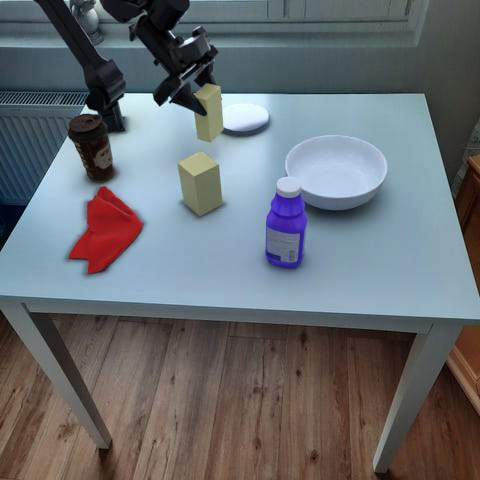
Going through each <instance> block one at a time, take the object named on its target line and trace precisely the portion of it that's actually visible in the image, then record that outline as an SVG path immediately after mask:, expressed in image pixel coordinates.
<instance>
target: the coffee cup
mask: <svg viewBox="0 0 480 480" xmlns="http://www.w3.org/2000/svg"><path fill="white" fill-rule="evenodd" d="M67 129H68V130H67V137H68V139H69V140H70V141H71V142H72V143H73V145H74V148H75V150H76V151H77V153H78V155H79V158H80V160H81V163H82V165H83V168H84V169H85V172H86V177H87V178H88V179H89V180H90V181H91V182H93V183H104V182H107V181H109V180H111V179H112V178H113V177H114V176H115V174H116V170H115V168H114V164H113V163H114V158H113V153H112V147H111V141H110V137H109V135H108V134H109V133H107V130H108V129H107V125H106V124H105V123H104V122H103V121H102V117H101V116H99V115H98V113H89V112H87V113H81V114H79V115H76V116H74V117H73V118H71V119H70V120H69V123H68V128H67Z"/></svg>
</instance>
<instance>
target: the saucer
mask: <svg viewBox="0 0 480 480" xmlns="http://www.w3.org/2000/svg"><path fill="white" fill-rule="evenodd" d="M222 113H223V126H224V130H223V131H222V132H221V133H224V134H226V135H228V136H232V137H238V138H239V137H241V138H242V137H251V136H255V135H258V134H260V133H262V132H263V131H265V130H266V129H267V127H268V126H269V124H270V123H269V122H270V115H269V112H268V111H267V109H266V108H265V107H263V106H261V105H258V104H254V103H247V102H241V103H235V104H231V105H228V106H225V107H224V108H222Z"/></svg>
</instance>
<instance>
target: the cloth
mask: <svg viewBox="0 0 480 480" xmlns="http://www.w3.org/2000/svg"><path fill="white" fill-rule="evenodd" d="M86 224H87V226H88V227H87V228H86V230H85V231H84V233H83V234H82V235H81V236H80V238H79V239H77V241H76V242H75V244H74V246H73V247H72V248H71V250H70V252H69V254H68V256H67V258H68V259H83V260H87V262H88V264H87V270H86V274H89V275H91V274H96V273H99V272H101V271H102V270H106V269H107V267H108V266H109V265H110V264H111V263H112V262H113V261H114V260H116V259H117V257H118V256H120V255H121V254H122V253H123V252H124V251H125V250H126V249H127V248H128V247H129V246H130V244H131V243H132V242H133V241H134V240H135V239H136V237H137V236H138V235H139V233H140V232H141V230H142V228H143V225H144V222H143V221H141V220H140V218H139V217H138V215H137V214H136V213H135V211H134V210H133V209H132V208H131V207H130V206H128V205H127V204H126V203H125V202H124V201H123V200H122V199H121V198H119V196H116V194H115V193H114V192H113V191H111V190H110V189H109V188H108V187H107V185H103V186H100V187H99V188H98V189H97V193H96V194H94V195H93V198H92V199H91V200H88V201H87V202H86Z"/></svg>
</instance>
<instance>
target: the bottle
mask: <svg viewBox="0 0 480 480" xmlns="http://www.w3.org/2000/svg"><path fill="white" fill-rule="evenodd" d="M305 208H306V204H305V202H304V201H303V199H302V198H301V182H300V180H298V179H297V178H295V177H286V176H283V177H281V178H279V179H278V180H277V181H276V187H275V195H274V196H273V198H272V199H271V201H270V209H269V211H268V213H267V214H266V216H265V217H266V220H265V251H264V252H265V257H266V260H267V262H269V263H270V264H271V265H273V266H275V267H280V268H284V269H295V268H296V267H297V266H299V264H301V262H302V260H303V258H304V256H305V255H304V253H305V246H306V238H307V230H308V215H307V213H306V211H305Z"/></svg>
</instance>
